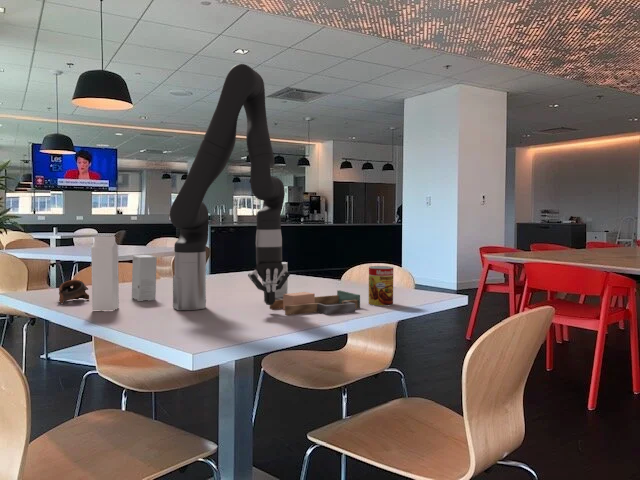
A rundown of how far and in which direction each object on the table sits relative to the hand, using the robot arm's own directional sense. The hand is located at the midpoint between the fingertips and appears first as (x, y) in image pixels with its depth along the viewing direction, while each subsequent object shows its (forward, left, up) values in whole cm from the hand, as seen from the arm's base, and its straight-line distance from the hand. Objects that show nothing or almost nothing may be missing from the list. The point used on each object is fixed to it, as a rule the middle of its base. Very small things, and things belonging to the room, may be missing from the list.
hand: (269, 304), depth 151 cm
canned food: (+38, -3, -3) cm, 38 cm away
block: (+10, 0, -3) cm, 10 cm away
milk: (-41, +27, -3) cm, 50 cm away
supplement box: (+12, +21, -3) cm, 24 cm away
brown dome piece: (-49, +48, -3) cm, 69 cm away
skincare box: (-27, +43, -3) cm, 51 cm away
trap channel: (+15, 0, -2) cm, 15 cm away
